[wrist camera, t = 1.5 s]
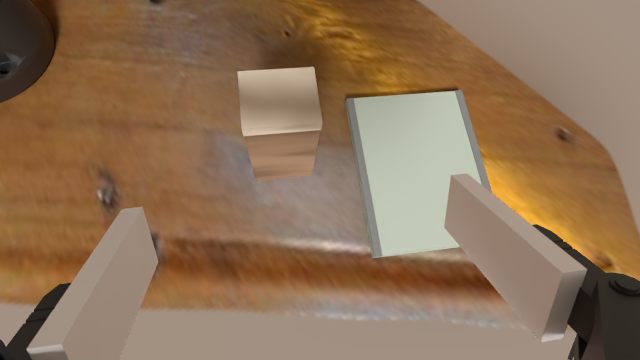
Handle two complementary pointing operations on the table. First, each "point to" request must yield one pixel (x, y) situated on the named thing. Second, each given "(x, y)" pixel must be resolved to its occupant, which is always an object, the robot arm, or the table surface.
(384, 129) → the mat
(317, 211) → the table surface
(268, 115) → the beige block
